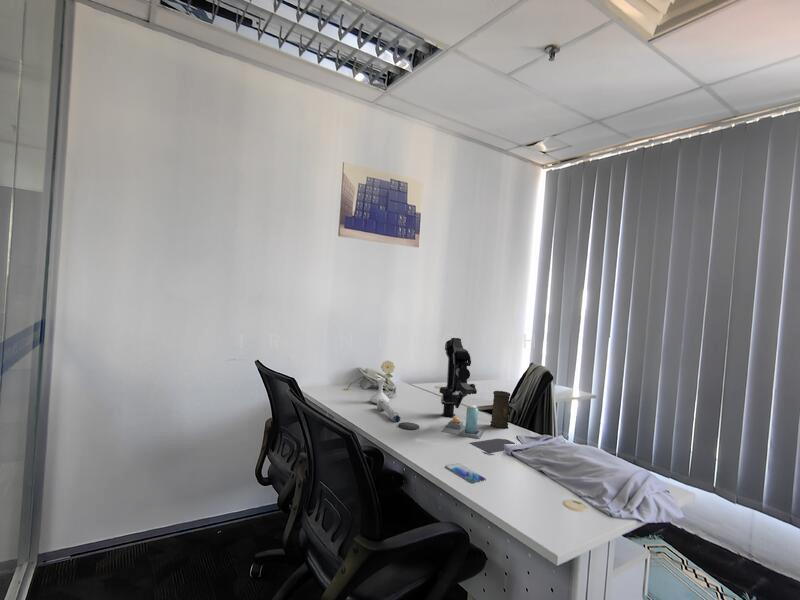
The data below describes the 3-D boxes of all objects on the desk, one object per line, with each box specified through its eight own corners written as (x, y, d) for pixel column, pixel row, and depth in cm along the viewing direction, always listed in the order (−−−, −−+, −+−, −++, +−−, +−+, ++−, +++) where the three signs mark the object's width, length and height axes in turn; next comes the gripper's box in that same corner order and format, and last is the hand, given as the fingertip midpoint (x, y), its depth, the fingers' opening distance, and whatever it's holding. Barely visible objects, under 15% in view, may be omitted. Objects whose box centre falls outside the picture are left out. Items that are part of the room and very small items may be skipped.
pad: (402, 422, 207) (402, 421, 207) (422, 426, 203) (422, 424, 203) (395, 427, 198) (395, 426, 198) (415, 431, 194) (415, 430, 194)
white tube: (392, 415, 204) (376, 395, 227) (390, 428, 205) (374, 407, 228) (402, 415, 206) (385, 395, 229) (400, 427, 207) (383, 407, 230)
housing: (449, 425, 209) (449, 419, 209) (485, 432, 202) (485, 425, 202) (440, 433, 194) (440, 427, 194) (479, 441, 187) (479, 434, 187)
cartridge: (466, 431, 197) (468, 404, 197) (477, 433, 195) (479, 405, 195) (463, 434, 192) (466, 406, 192) (475, 436, 190) (477, 408, 190)
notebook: (502, 441, 193) (467, 446, 181) (503, 437, 193) (468, 442, 181) (524, 450, 182) (488, 457, 170) (524, 447, 182) (488, 453, 170)
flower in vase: (367, 404, 236) (371, 360, 236) (372, 399, 248) (375, 357, 247) (390, 406, 234) (393, 362, 234) (393, 402, 245) (397, 359, 245)
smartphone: (458, 463, 159) (487, 479, 147) (458, 465, 159) (486, 481, 147) (444, 465, 155) (471, 482, 143) (443, 467, 155) (471, 484, 143)
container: (488, 428, 208) (491, 392, 208) (491, 424, 216) (494, 389, 216) (506, 432, 205) (510, 395, 205) (509, 427, 213) (512, 392, 213)
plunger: (453, 421, 206) (453, 416, 206) (459, 422, 205) (460, 418, 205) (451, 423, 203) (452, 418, 203) (458, 424, 202) (458, 419, 202)
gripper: (453, 380, 192) (450, 413, 192) (485, 379, 201) (482, 411, 201) (440, 375, 202) (437, 407, 202) (470, 374, 211) (468, 405, 211)
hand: (456, 408), depth 204 cm, fingers closed
